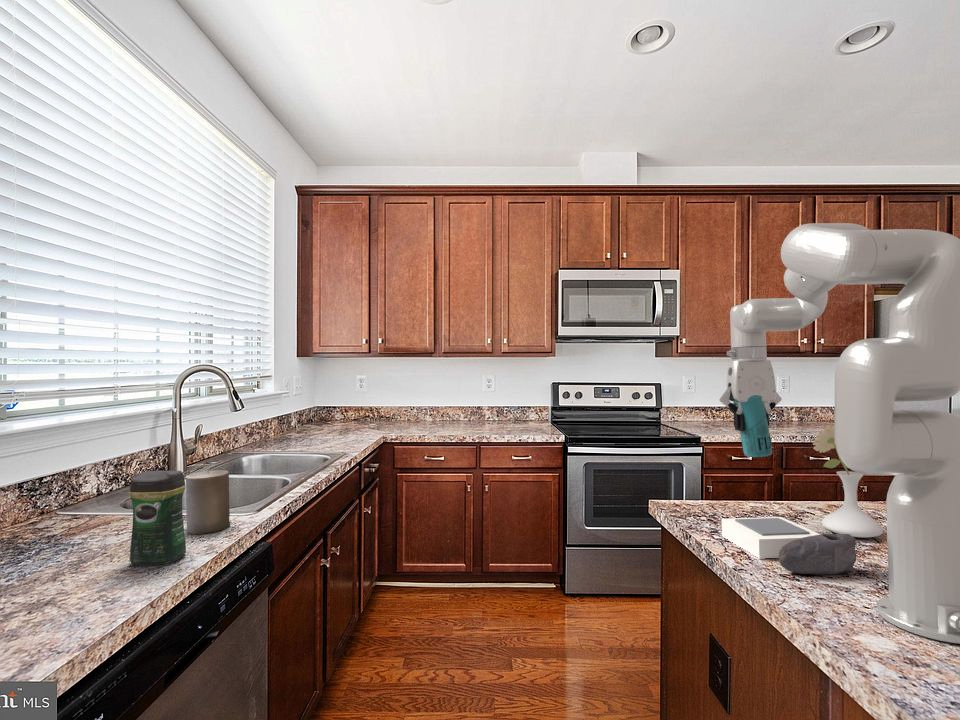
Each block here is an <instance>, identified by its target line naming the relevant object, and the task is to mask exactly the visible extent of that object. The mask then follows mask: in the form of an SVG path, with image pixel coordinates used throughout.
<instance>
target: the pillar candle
mask: <svg viewBox="0 0 960 720" xmlns="http://www.w3.org/2000/svg"><path fill="white" fill-rule="evenodd" d="M185 491H186V492H185V493H186V494H185V496H186V497H185V501H186V507H185V508H186V511H185V514H186V533H188V534H191V535H203V534H210V533H211V534H212V533H214V532H220V531H223V530H225V529H226V530H227V528H229V527H230V526H231V523H230V518H231V517H230V515H231V514H230V513H231V512H230V473H229V471H228V470H223V469H222V470H221V469H217V470H210V469H209V468H207V470H206V471H200V472H194V473H191V474H188V475H186V476H185Z"/></svg>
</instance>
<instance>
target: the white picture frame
mask: <svg viewBox="0 0 960 720" xmlns="http://www.w3.org/2000/svg"><path fill="white" fill-rule="evenodd" d="M814 535H820V533H818V532H816V531H813V530H812V529H809V528H807V527H804V526H802V525H800V524H798V523H796V522H793V521H791V520H790V519H787V518H785V517H782V516H767V517H766V516H765V517H763V516H762V517H737V518H735V517H733V518H729V517H728V518H721V537H723V538H725V539H726V540H727V539H728V541H729V542H730V543H732V542H733V543H732V544H734V545H735V544H736V546H737V547H739V548H740V547H741V548H740V549H742V548H743V549H745V550H746V552H747V551H748V552H750V553H751V554H750V553H749V554H750V555H752V554H753V555H754V556H753V555H752V556H753V557H755V556H756V557H758V558H759V559H758V558H757V559H758V560H766V559H765V558H779V552H780V550H781V548H782V547H783V546H784V545H785V544H787V543H789V542H791V541H793V540H796V539H800V538H804V537H808V536H814ZM743 549H742V550H743ZM745 550H744V551H745ZM748 552H747V553H748ZM756 557H755V558H756Z"/></svg>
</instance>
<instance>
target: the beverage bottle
mask: <svg viewBox="0 0 960 720" xmlns="http://www.w3.org/2000/svg"><path fill="white" fill-rule="evenodd" d="M734 400H735V401H736V402H739V401H737V400H736V399H734ZM740 403H741V407H742V413H741V414H744V417H745V431H739V434H740V442H741V446H742V447H741V448H742V452H743V454H744V456H746V457H749V458H763V457H769V456H771V455H772V454H773V442H772V435H771V434H770V427H769V428H768V422H767V416H766V413H767V412H766V411H765V408H766V407H765V406H764V402H763V401H762V396H759V395H753V396H751V397H749V398H748V401H747V402H740ZM737 405H738V403H736V407H737Z"/></svg>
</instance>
